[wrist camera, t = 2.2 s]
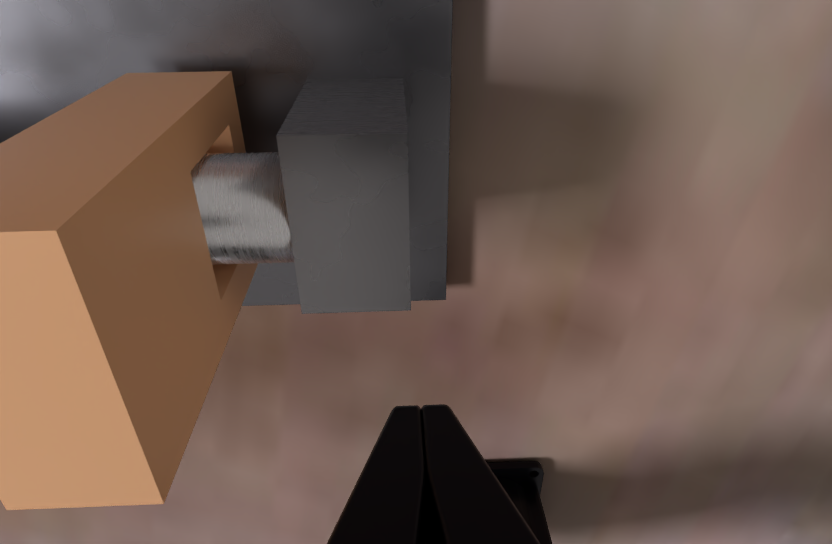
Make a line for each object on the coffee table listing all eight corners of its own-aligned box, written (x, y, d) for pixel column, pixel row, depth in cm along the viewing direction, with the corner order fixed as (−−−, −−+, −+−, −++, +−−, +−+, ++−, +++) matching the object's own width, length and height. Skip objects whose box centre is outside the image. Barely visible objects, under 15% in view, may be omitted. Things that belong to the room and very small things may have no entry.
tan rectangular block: (231, 71, 16) (55, 230, 8) (263, 250, 19) (163, 504, 11) (126, 72, 16) (-168, 236, 8) (175, 252, 19) (6, 510, 11)
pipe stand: (450, -53, 16) (481, -43, 11) (443, 285, 23) (460, 401, 17) (-466, -43, 16) (-933, -25, 10) (-211, 305, 22) (-413, 432, 17)
